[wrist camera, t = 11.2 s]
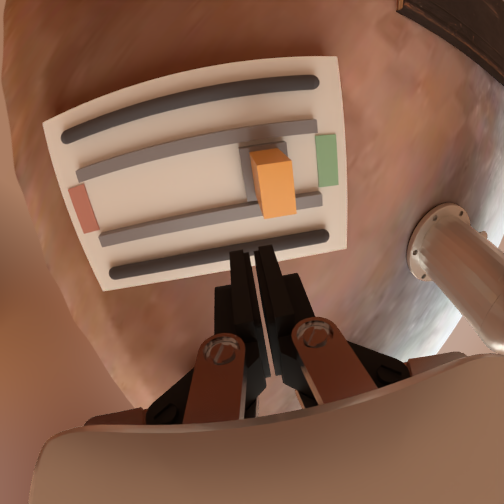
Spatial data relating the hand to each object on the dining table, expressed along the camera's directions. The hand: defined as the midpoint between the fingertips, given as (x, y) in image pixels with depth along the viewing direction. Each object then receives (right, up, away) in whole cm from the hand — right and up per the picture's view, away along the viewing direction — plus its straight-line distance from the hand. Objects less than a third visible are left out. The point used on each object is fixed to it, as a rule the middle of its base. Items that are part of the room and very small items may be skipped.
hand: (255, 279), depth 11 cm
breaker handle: (+1, +8, +13) cm, 16 cm away
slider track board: (-5, +9, +16) cm, 19 cm away
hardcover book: (+28, +34, +6) cm, 44 cm away
